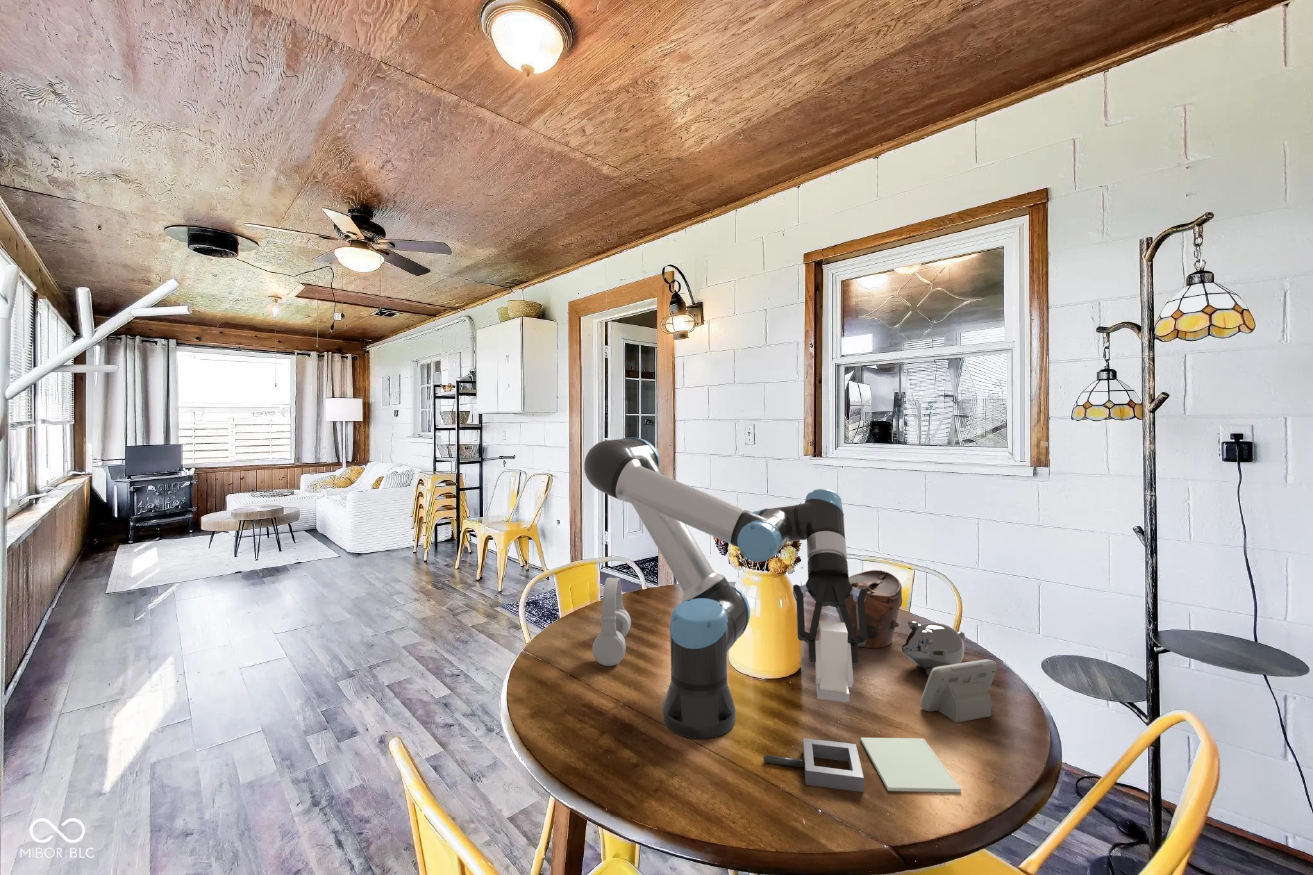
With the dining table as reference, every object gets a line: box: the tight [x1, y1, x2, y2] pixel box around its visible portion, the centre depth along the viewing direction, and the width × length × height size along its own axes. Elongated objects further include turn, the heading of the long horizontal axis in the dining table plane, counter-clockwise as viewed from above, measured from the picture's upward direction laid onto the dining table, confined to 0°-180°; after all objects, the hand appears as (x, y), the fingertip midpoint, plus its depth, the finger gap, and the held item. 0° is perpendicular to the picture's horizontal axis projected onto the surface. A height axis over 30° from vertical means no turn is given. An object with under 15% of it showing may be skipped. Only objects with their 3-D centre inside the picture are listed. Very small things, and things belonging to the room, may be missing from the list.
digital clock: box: [919, 659, 998, 723], centre depth 116 cm, size 16×9×11 cm, turn 93°
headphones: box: [592, 577, 632, 667], centre depth 147 cm, size 20×8×19 cm, turn 178°
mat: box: [860, 737, 962, 793], centre depth 99 cm, size 12×14×1 cm
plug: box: [815, 620, 850, 703], centre depth 96 cm, size 5×5×12 cm
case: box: [845, 569, 903, 649], centre depth 152 cm, size 18×20×18 cm
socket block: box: [763, 737, 865, 793], centre depth 98 cm, size 17×9×2 cm, turn 78°
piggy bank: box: [901, 620, 966, 677], centre depth 133 cm, size 11×15×12 cm
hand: (834, 682), depth 93 cm, fingers closed on plug, 4 cm apart
